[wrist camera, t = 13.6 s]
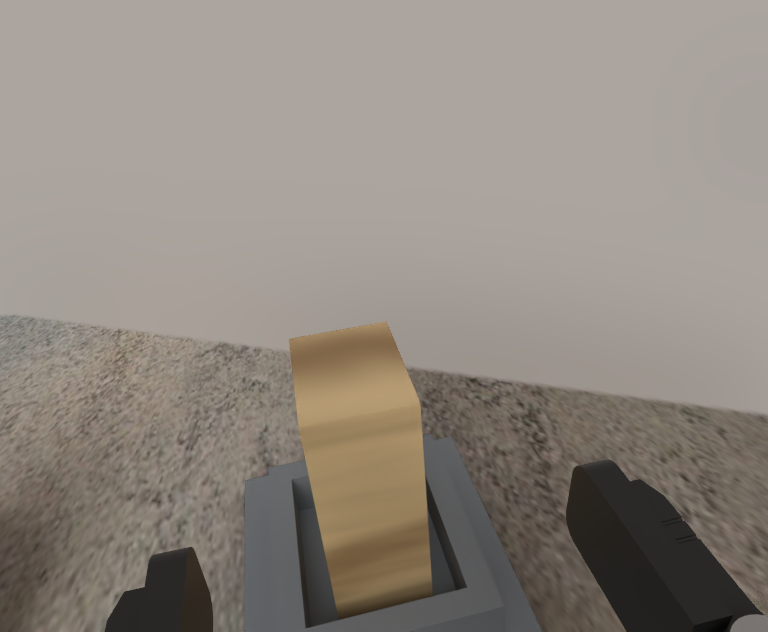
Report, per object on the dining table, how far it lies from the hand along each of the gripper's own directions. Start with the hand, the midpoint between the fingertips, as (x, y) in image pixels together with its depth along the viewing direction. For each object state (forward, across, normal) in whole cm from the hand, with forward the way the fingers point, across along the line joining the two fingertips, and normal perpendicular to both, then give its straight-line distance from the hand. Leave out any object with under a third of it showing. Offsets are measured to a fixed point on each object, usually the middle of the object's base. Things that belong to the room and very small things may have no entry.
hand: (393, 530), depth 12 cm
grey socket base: (+10, -1, +16) cm, 19 cm away
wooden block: (+10, -1, +16) cm, 19 cm away
